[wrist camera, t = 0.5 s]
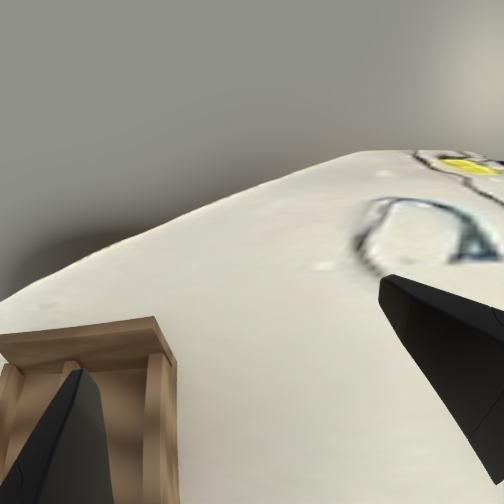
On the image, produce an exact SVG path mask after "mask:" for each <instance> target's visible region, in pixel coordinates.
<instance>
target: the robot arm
mask: <svg viewBox="0 0 504 504" xmlns="http://www.w3.org/2000/svg"><path fill="white" fill-rule="evenodd" d="M378 301H379V305H380V307H381V309H382V310H383V312H384V314H385V315H386V317H387V319H388V320H389V322H390V324H391V326H392V327H393V329H394V331H395V332H396V334H397V336H398V338H399V339H400V341H401V343H402V344H403V345H404V347H405V348H406V350H407V351H408V353H409V354H410V355H411V357H412V358H413V359H414V361H415V362H416V364H417V365H418V366H419V368H420V369H421V371H422V372H423V374H424V375H425V376H426V378H427V379H428V381H429V382H430V384H431V385H432V387H433V388H434V389H435V391H436V392H437V394H438V395H439V397H440V398H441V400H442V401H443V403H444V404H445V406H446V407H447V409H448V410H449V412H450V413H451V415H452V416H453V418H454V419H455V421H456V422H457V424H458V425H459V427H460V428H461V430H462V432H463V433H464V435H465V436H466V438H467V439H468V441H469V443H470V444H471V446H472V448H473V449H474V451H475V452H476V454H477V456H478V457H479V459H480V461H481V462H482V464H483V466H484V467H485V469H486V471H487V472H488V474H489V476H490V477H491V479H492V481H493V482H494V484H495V485H497V484H499V483H500V482H501V481H503V480H504V311H502V310H499V309H496V308H494V307H490V306H488V305H485V304H482V303H479V302H476V301H473V300H470V299H467V298H464V297H461V296H458V295H455V294H452V293H449V292H446V291H443V290H440V289H437V288H434V287H431V286H428V285H425V284H422V283H419V282H416V281H413V280H410V279H407V278H404V277H400V276H397V275H394V274H391V275H388V276H386V277H383V278H382V279H381V280H380V287H379V297H378ZM0 504H114V498H113V490H112V483H111V474H110V464H109V454H108V442H107V433H106V427H105V421H104V415H103V409H102V402H101V394H100V390H99V387H98V385H97V384H96V382H95V381H94V380H93V378H92V377H91V375H90V374H89V373H88V371H87V370H86V369H85V368H79V369H74V370H72V371H71V372H70V373H69V375H68V376H67V378H66V379H65V381H64V382H63V384H62V385H61V387H60V388H59V390H58V391H57V393H56V394H55V396H54V397H53V399H52V400H51V402H50V403H49V405H48V407H47V408H46V410H45V411H44V413H43V414H42V416H41V418H40V419H39V421H38V422H37V424H36V426H35V427H34V429H33V431H32V432H31V434H30V436H29V437H28V439H27V441H26V442H25V444H24V446H23V447H22V449H21V451H20V453H19V454H18V456H17V459H15V461H14V463H13V465H12V466H11V468H10V470H9V472H8V473H7V475H6V477H5V478H4V480H3V482H2V483H1V485H0Z"/></svg>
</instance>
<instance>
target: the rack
mask: <svg viewBox="0 0 504 504" xmlns="http://www.w3.org/2000/svg"><path fill="white" fill-rule="evenodd" d="M0 353H1V354H2V355H3V357H4V358H5V359H6V360H7V361H8V362H9V363H8V364H4V367H3V370H2V373H1V376H0V485H1V483H2V482H3V480H4V478H5V477H6V475H7V473H8V472H9V470H10V468H11V466H12V465H13V463H14V461H15V459H17V456H18V454H19V453H20V451H21V449H22V447H23V446H24V444H25V442H26V441H27V439H28V437H29V436H30V434H31V432H32V431H33V429H34V427H35V426H36V424H37V422H38V421H39V419H40V418H41V416H42V414H43V413H44V411H45V410H46V408H47V407H48V405H49V403H50V402H51V400H52V399H53V397H54V396H55V394H56V393H57V391H58V390H59V388H60V387H61V385H62V384H63V382H64V381H65V379H66V378H67V376H68V375H69V373H70V372H71V371H72V370H74V369H79V368H85V369H86V370H87V371H88V373H89V374H90V375H91V377H92V378H93V380H94V381H95V382H96V384H97V385H98V387H99V390H100V394H101V402H102V409H103V415H104V421H105V427H106V433H107V442H108V454H109V464H110V474H111V483H112V490H113V498H114V504H180V500H179V482H178V458H177V405H176V394H177V361H176V359H175V357H174V355H173V353H172V351H171V349H170V347H169V345H168V343H167V342H166V340H165V338H164V336H163V334H162V331H161V329H160V327H159V325H158V323H157V321H156V319H155V317H154V316H151V317H144V318H138V319H131V320H123V321H116V322H109V323H101V324H93V325H85V326H77V327H69V328H60V329H51V330H42V331H32V332H22V333H11V334H0Z"/></svg>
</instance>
